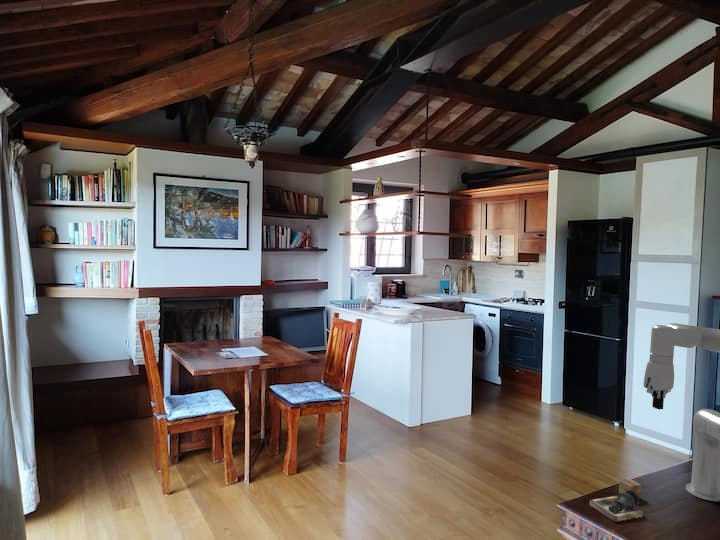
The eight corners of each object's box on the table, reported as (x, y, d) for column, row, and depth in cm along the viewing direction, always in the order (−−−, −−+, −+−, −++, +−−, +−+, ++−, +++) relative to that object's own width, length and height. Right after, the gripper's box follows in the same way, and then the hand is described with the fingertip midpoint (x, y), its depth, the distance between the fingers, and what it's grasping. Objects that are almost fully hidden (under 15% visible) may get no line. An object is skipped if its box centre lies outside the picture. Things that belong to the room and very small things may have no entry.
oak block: (629, 491, 196) (630, 478, 195) (640, 498, 191) (641, 484, 191) (618, 493, 194) (619, 480, 194) (629, 499, 189) (630, 486, 189)
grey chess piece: (643, 501, 179) (619, 516, 174) (634, 508, 183) (611, 523, 178) (630, 486, 182) (606, 499, 177) (621, 493, 186) (598, 507, 181)
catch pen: (616, 500, 188) (616, 495, 188) (642, 516, 178) (643, 511, 177) (589, 504, 184) (589, 500, 184) (614, 521, 174) (615, 516, 173)
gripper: (667, 356, 198) (663, 403, 199) (637, 357, 193) (633, 406, 195) (685, 360, 191) (681, 410, 192) (654, 362, 186) (650, 413, 187)
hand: (657, 408), depth 193 cm, fingers closed
